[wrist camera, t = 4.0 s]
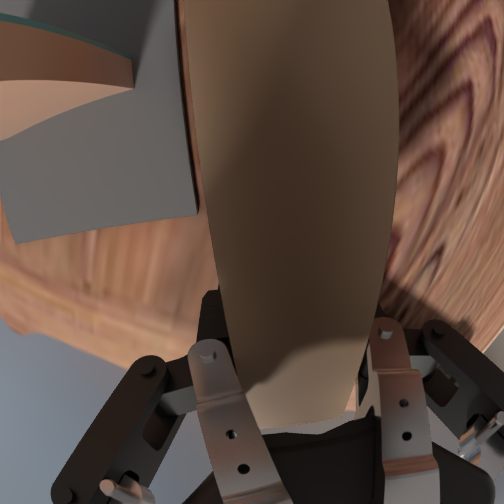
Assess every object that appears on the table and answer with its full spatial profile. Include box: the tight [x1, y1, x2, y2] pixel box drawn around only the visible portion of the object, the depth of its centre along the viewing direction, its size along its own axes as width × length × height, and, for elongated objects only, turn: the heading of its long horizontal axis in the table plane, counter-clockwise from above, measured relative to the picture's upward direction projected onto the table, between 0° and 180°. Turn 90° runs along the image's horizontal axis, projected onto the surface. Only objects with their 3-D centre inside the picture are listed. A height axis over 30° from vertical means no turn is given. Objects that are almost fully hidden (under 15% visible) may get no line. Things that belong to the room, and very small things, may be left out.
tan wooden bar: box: [184, 0, 399, 429], centre depth 8 cm, size 4×18×5 cm, turn 5°
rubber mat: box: [0, 0, 198, 244], centre depth 7 cm, size 12×22×1 cm, turn 5°
